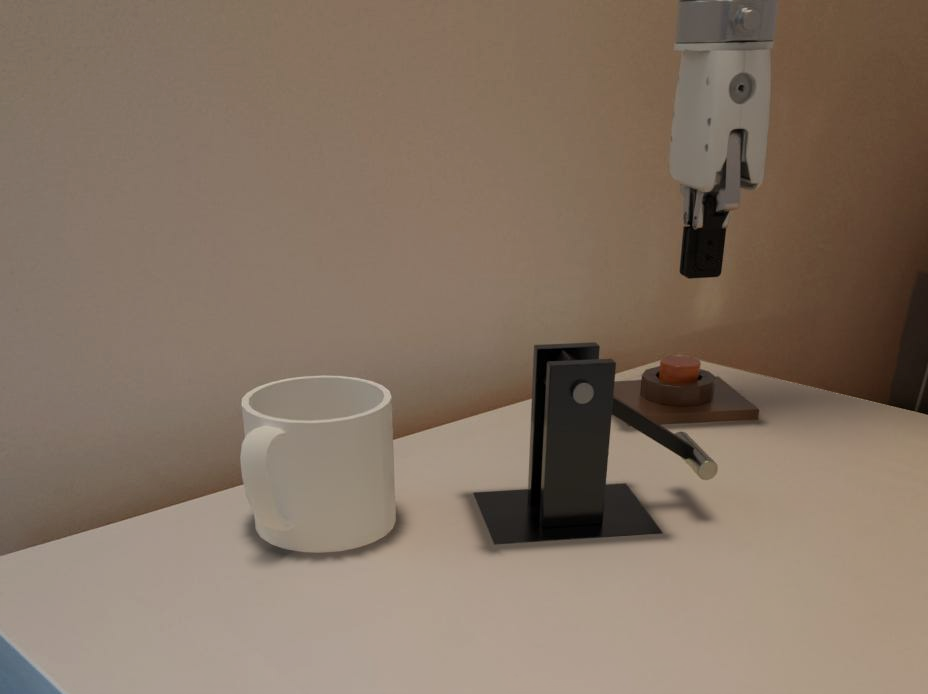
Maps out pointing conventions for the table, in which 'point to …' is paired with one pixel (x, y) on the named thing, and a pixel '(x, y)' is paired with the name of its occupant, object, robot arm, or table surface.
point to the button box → (685, 399)
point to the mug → (319, 462)
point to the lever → (661, 435)
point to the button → (679, 369)
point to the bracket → (567, 458)
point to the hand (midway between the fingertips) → (699, 275)
